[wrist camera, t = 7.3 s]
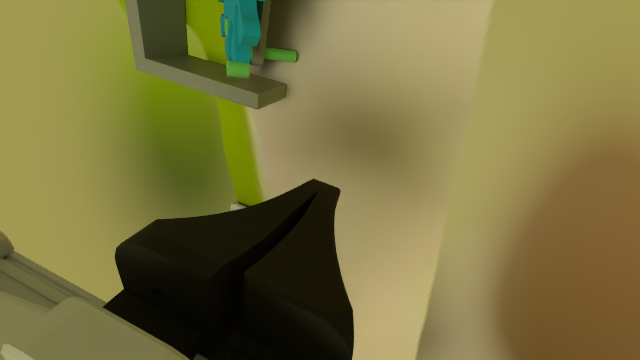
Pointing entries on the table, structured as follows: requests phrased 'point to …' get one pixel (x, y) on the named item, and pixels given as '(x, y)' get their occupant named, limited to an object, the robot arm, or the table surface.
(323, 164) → the table surface
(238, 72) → the gear
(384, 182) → the table surface
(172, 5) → the housing
